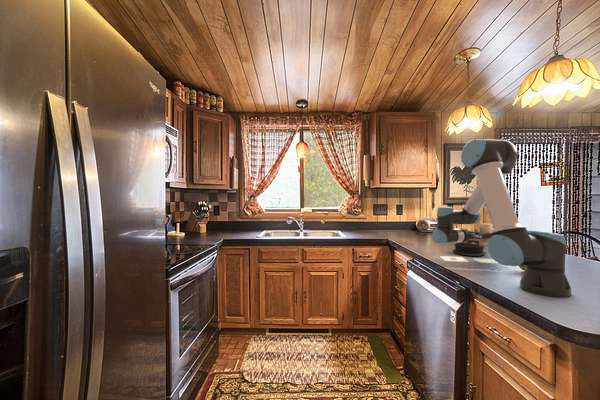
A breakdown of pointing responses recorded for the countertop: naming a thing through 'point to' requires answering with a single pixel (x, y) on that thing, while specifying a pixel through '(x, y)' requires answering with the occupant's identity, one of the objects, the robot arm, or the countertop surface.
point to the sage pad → (485, 260)
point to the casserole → (469, 248)
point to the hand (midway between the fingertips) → (492, 233)
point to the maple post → (484, 229)
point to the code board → (453, 259)
